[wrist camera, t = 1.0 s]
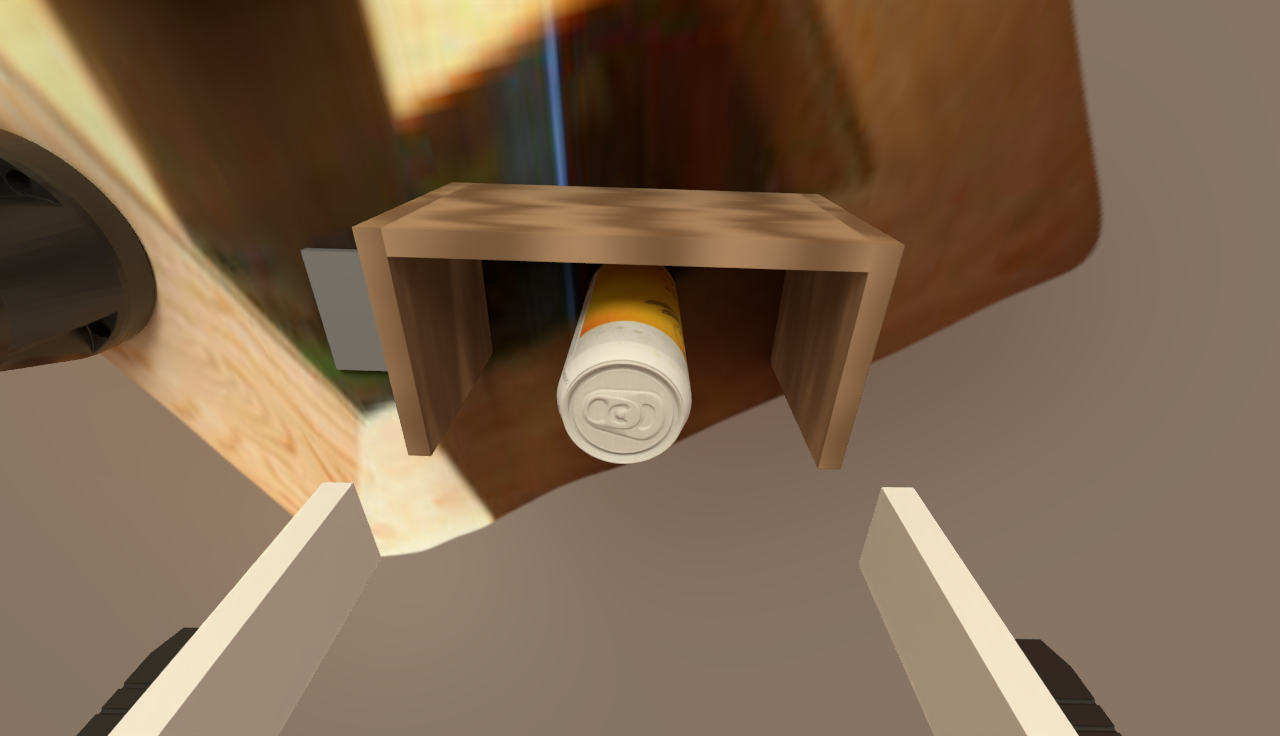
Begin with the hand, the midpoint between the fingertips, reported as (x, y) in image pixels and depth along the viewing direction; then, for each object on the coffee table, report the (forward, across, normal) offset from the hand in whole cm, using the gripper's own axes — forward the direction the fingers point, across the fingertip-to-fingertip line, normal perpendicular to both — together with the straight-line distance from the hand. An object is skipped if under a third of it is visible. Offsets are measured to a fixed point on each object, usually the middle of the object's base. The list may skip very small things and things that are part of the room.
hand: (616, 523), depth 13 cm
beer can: (+24, 0, -2) cm, 24 cm away
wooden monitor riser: (+24, 0, -2) cm, 24 cm away
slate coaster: (+23, -18, -4) cm, 30 cm away
